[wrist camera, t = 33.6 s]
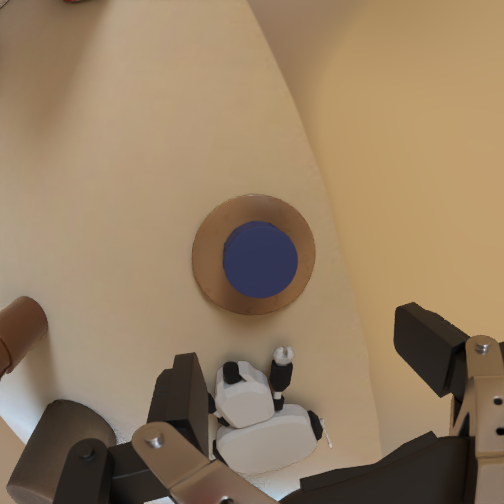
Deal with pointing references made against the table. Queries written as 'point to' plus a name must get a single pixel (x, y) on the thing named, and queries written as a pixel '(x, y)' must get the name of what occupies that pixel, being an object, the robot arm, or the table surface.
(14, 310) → the jar
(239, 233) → the lid
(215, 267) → the coaster
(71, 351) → the table surface
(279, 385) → the robot toy
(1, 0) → the skincare box
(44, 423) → the pillar candle
